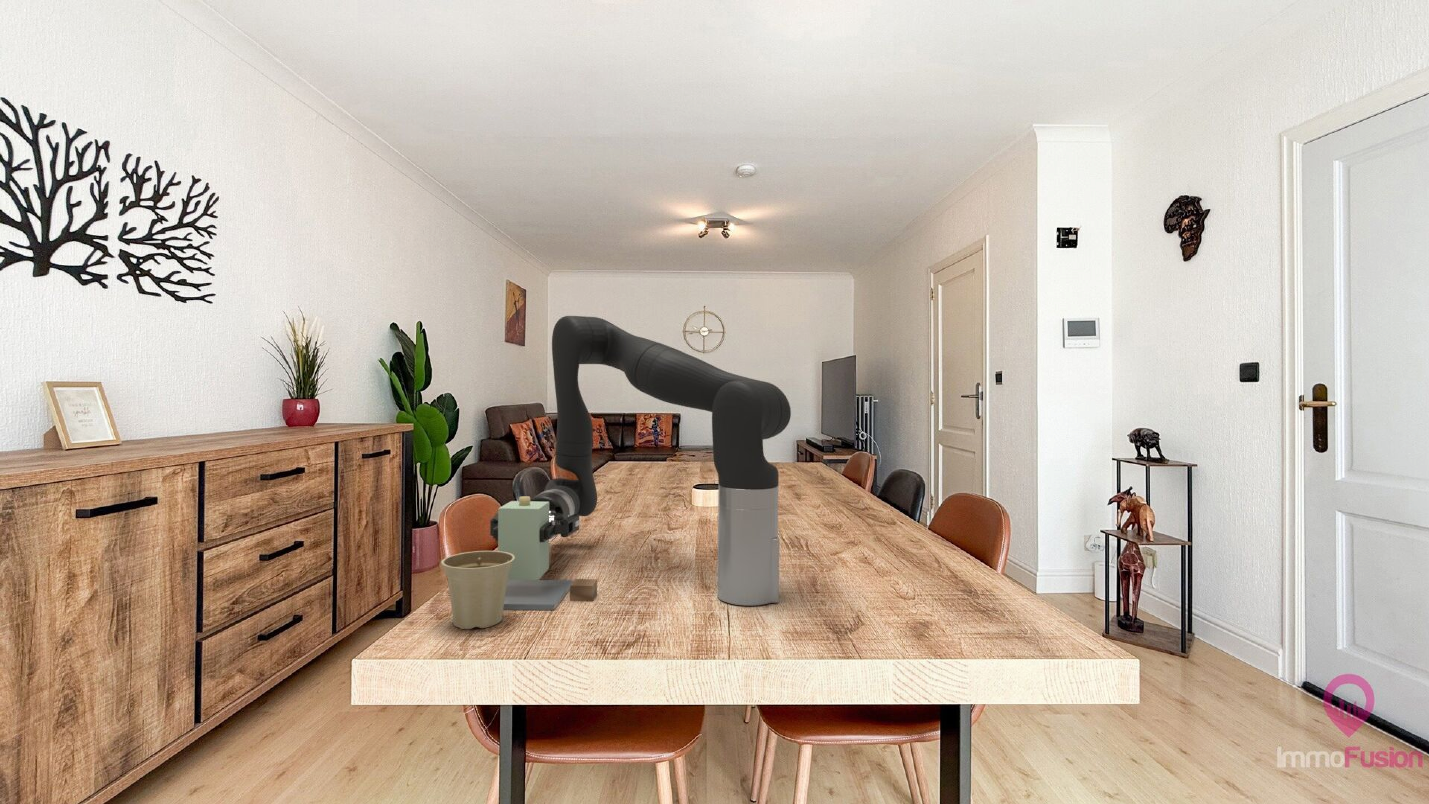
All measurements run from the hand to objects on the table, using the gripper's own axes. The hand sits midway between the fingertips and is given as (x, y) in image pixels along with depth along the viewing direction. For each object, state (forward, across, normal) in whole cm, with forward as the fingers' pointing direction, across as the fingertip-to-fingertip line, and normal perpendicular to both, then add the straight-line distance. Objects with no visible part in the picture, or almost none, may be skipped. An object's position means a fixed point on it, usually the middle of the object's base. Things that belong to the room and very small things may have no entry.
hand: (519, 535), depth 97 cm
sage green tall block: (-2, 0, +6) cm, 7 cm away
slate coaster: (-2, 0, +10) cm, 10 cm away
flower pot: (+9, -3, +10) cm, 14 cm away
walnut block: (-2, +9, +10) cm, 14 cm away
